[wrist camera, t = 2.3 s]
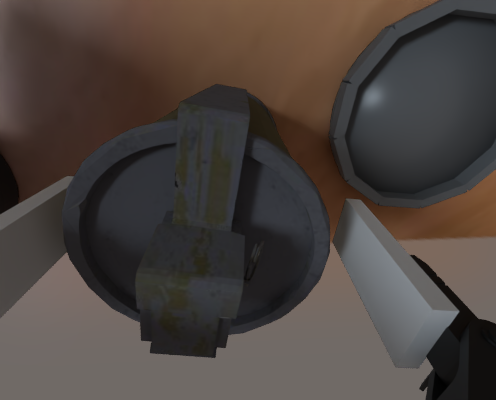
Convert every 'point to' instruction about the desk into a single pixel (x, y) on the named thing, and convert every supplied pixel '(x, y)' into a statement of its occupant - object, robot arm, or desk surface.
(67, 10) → the desk surface
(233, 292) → the canister
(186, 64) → the desk surface
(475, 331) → the robot arm
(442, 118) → the round tray
